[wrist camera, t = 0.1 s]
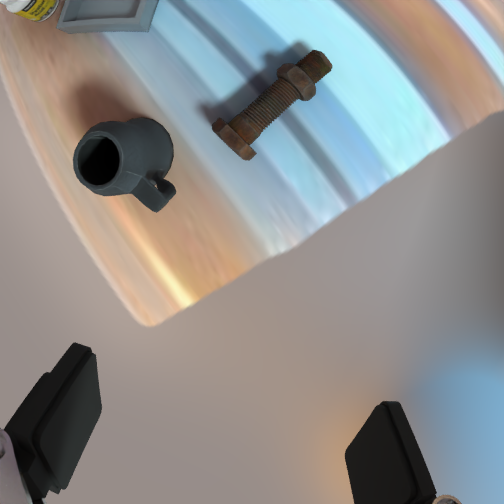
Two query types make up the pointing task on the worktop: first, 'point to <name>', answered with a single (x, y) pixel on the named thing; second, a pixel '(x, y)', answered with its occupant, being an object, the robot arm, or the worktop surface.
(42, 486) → the robot arm
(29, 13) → the supplement bottle
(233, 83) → the worktop surface
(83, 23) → the tray
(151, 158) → the mug
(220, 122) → the bolt
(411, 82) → the worktop surface
